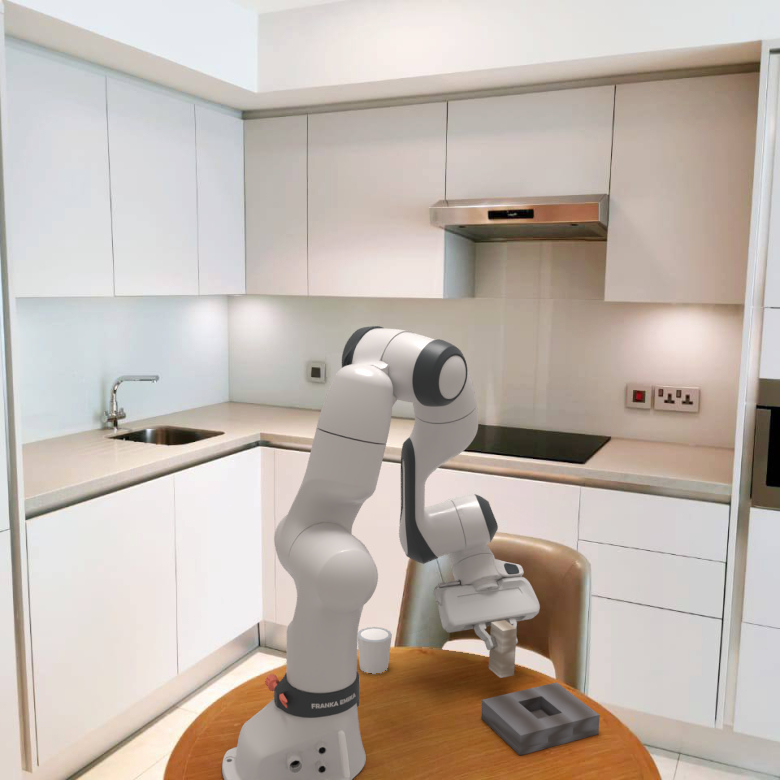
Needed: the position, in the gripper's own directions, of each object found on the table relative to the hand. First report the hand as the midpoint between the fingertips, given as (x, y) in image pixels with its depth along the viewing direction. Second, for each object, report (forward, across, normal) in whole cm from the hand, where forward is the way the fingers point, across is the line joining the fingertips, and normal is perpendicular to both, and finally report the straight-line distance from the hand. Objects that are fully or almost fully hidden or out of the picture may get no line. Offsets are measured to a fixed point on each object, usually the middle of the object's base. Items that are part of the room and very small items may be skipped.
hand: (503, 646), depth 144 cm
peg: (+3, 0, +4) cm, 5 cm away
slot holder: (+15, 0, -1) cm, 15 cm away
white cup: (-6, -17, +21) cm, 28 cm away
